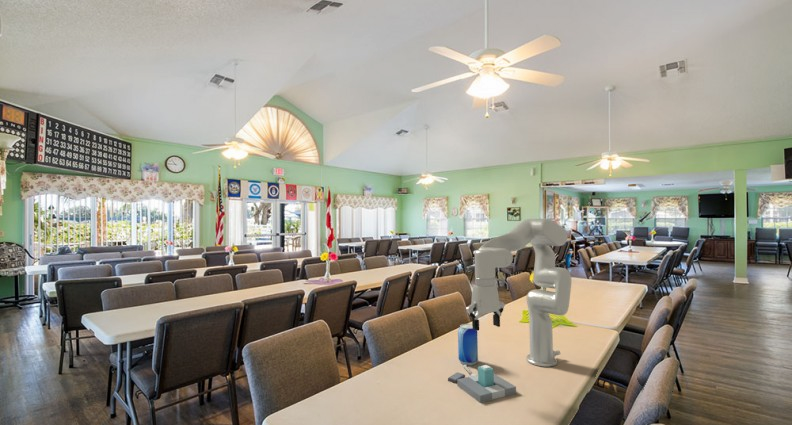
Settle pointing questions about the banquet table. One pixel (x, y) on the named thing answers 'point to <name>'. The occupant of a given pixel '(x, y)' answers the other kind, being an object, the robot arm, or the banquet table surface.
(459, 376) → the phone
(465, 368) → the cable
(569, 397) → the banquet table surface
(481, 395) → the socket plate
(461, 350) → the beer can
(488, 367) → the block
